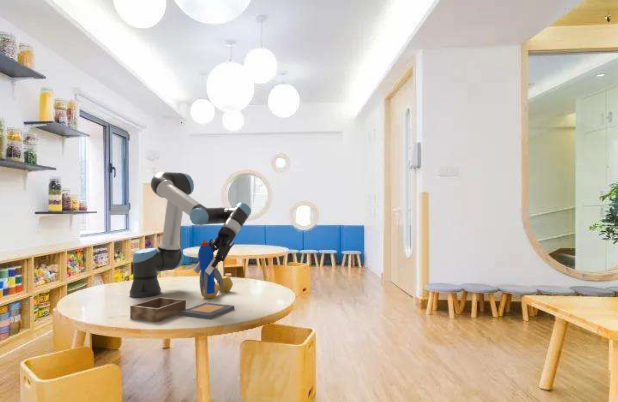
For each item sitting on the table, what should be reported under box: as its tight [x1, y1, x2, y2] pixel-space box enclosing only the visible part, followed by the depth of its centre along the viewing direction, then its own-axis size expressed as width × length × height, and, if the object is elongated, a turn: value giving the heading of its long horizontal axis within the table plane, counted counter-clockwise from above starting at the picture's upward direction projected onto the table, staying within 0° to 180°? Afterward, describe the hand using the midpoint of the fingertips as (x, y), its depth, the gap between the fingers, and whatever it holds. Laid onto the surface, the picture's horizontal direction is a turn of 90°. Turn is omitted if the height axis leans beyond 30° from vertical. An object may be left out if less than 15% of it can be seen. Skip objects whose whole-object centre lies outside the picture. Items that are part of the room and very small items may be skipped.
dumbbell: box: [202, 275, 234, 300], centre depth 200 cm, size 19×9×8 cm, turn 161°
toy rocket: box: [197, 238, 225, 300], centre depth 168 cm, size 11×10×25 cm
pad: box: [179, 302, 235, 320], centre depth 168 cm, size 16×16×2 cm
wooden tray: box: [129, 296, 187, 323], centre depth 165 cm, size 15×16×5 cm
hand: (201, 272), depth 165 cm, fingers closed on toy rocket, 7 cm apart
